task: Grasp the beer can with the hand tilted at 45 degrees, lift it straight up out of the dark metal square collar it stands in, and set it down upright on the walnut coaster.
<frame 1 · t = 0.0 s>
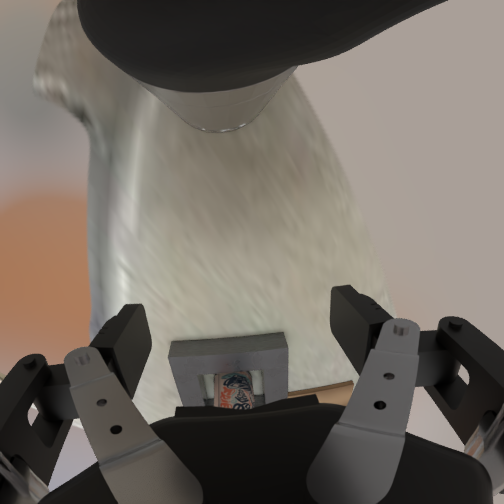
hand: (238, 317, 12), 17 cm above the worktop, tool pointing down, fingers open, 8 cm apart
beer can: (232, 377, 35), resting in metal collar
metal collar: (232, 378, 34), on the worktop
walnut coaster: (316, 409, 38), on the worktop
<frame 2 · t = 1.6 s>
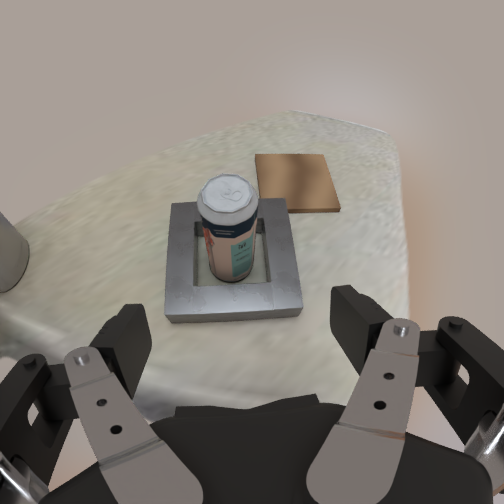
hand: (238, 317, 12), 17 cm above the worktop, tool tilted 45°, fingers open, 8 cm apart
beer can: (231, 264, 32), resting in metal collar
metal collar: (231, 263, 32), on the worktop
walnut coaster: (295, 182, 38), on the worktop
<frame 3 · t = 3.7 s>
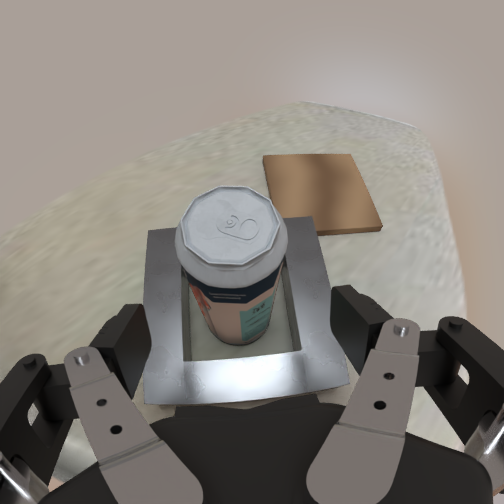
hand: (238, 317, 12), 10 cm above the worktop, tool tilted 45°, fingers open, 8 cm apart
beer can: (238, 316, 22), resting in metal collar
metal collar: (238, 316, 22), on the worktop
walnut coaster: (319, 192, 28), on the worktop
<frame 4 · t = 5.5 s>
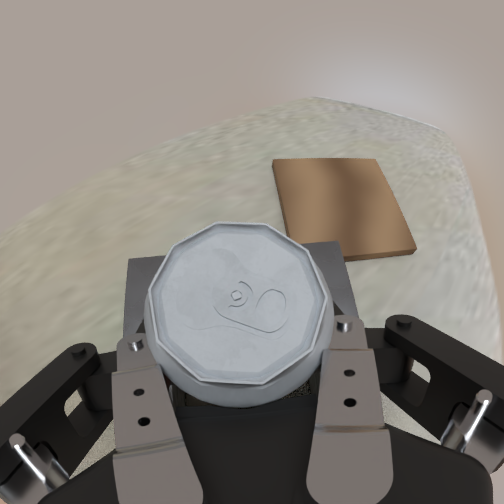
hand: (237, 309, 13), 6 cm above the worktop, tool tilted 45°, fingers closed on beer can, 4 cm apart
beer can: (244, 368, 17), resting in metal collar, touching gripper
metal collar: (244, 368, 17), on the worktop
walnut coaster: (341, 206, 23), on the worktop
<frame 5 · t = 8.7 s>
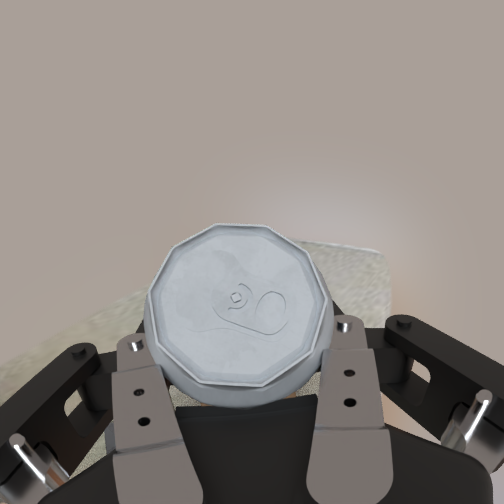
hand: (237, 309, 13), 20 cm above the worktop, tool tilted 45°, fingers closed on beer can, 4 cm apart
beer can: (244, 369, 17), point 14 cm above the worktop, touching gripper
when the fingers open (8 cm above the worktop, at t = 11.9 s): beer can drops 1 cm, resting on walnut coaster.
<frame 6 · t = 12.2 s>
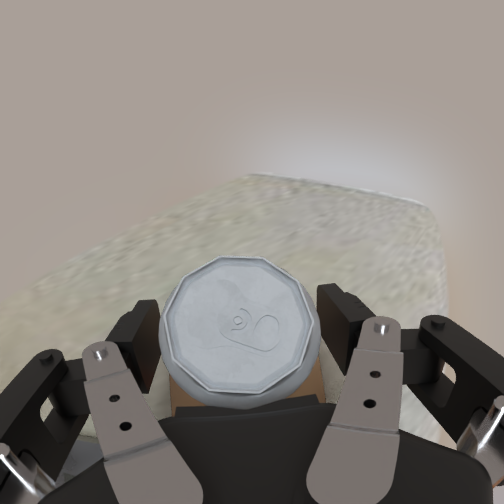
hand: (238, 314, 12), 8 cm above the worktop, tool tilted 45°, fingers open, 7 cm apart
beer can: (244, 374, 18), point 1 cm above the worktop, touching walnut coaster
walnut coaster: (244, 372, 18), on the worktop
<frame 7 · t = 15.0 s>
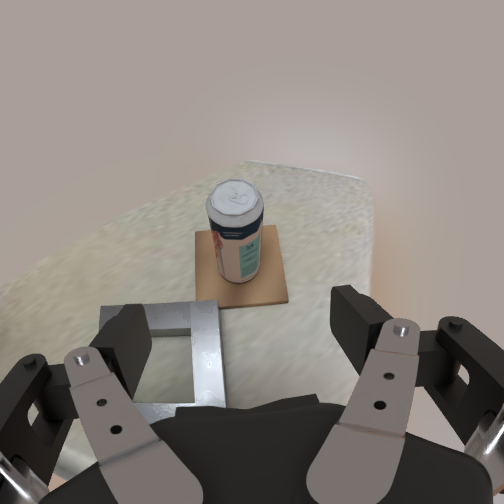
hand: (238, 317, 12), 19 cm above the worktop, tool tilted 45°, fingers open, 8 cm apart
beer can: (238, 266, 33), point 1 cm above the worktop, touching walnut coaster
metal collar: (163, 369, 28), on the worktop
walnut coaster: (238, 267, 34), on the worktop
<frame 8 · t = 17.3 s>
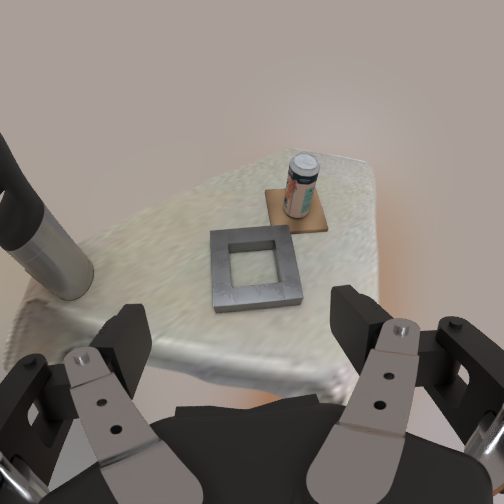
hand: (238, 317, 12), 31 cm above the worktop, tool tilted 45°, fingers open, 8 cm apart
beer can: (295, 210, 53), point 1 cm above the worktop, touching walnut coaster
metal collar: (253, 271, 47), on the worktop
walnut coaster: (295, 211, 53), on the worktop
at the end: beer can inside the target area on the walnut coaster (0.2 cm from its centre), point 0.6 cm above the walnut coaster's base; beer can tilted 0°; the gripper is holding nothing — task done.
